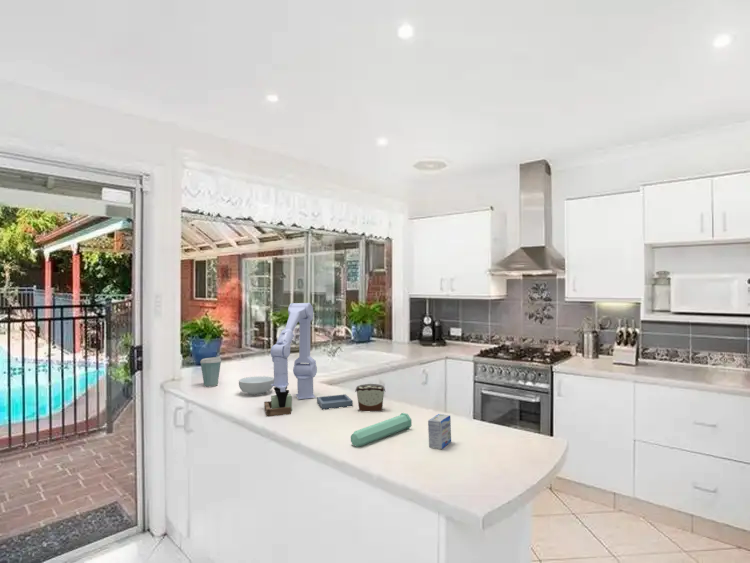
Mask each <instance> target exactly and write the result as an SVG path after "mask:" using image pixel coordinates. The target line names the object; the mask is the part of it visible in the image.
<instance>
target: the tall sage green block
mask: <svg viewBox="0 0 750 563" xmlns="http://www.w3.org/2000/svg"><path fill="white" fill-rule="evenodd" d="M270 401H271V408H270V409H274V408H280V407H279V403H278V397H277V395H276V394H273V395H270ZM285 407H291V412H292V411H293V397H292V395H291V393H288V395H287V398H286V404H285ZM281 408H284V407H281Z"/></svg>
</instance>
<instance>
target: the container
mask: <svg viewBox="0 0 750 563" xmlns="http://www.w3.org/2000/svg"><path fill="white" fill-rule="evenodd" d="M412 423H413V422H412V418H411V416H410V414H408V413H405V412H401V414H399V415H396V416H394V417H391V418H388V419H385V420H382V421H380V422H377V423H374V424H372V425H368V426H365V427H363V428H360V429H356V430H355V431H354V432H352V434H351V435H350V442H351V444H352V446H354V447H357V448H359V447H361V446H364V445H367V444H371V443H373V442H375V441H378V440H381V439H383V438H387V437H389V436H392V435H394V434H396V433H399V432H402V431H404V430H410V428H411V427H412V426H413V425H412Z"/></svg>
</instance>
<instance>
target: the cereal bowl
mask: <svg viewBox="0 0 750 563" xmlns="http://www.w3.org/2000/svg"><path fill="white" fill-rule="evenodd" d="M271 384H274V376H269V375H267V376H266V375H263V376H262V375H258V376H257V375H256V376H255V375H254V376H247V377H242V378H240V379H239V380H238V386H239V387H238V388H239V389H240V390H241V391H242V392H244V393H246V394H248V395H249V396H260V395H261V396H262V395H264V394H266V393H267V392H269V391H271V390H272V389H273V388H274V386H271Z"/></svg>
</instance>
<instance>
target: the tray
mask: <svg viewBox="0 0 750 563" xmlns="http://www.w3.org/2000/svg"><path fill="white" fill-rule="evenodd" d="M316 403H317V405H318V404H319V405H318V406H319V407H320V409H321V408H322V409H325V410H330V409H329V408H334V409H340V408H339V407H343V408H348V407H347V406H354V405H353V400H352V398H350V397H349V396H348V394H346V393H345V394H344V393H343V394H334V395H326V396H325V395H324V396H318V397H316ZM322 409H321V410H322Z"/></svg>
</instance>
